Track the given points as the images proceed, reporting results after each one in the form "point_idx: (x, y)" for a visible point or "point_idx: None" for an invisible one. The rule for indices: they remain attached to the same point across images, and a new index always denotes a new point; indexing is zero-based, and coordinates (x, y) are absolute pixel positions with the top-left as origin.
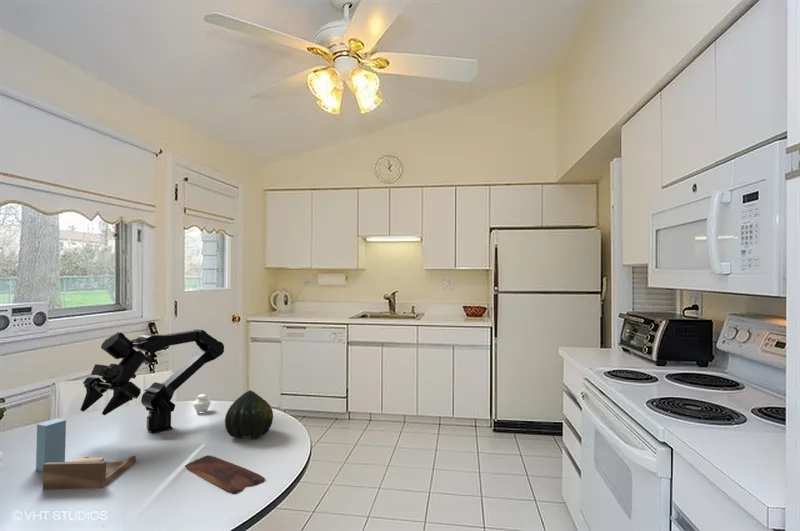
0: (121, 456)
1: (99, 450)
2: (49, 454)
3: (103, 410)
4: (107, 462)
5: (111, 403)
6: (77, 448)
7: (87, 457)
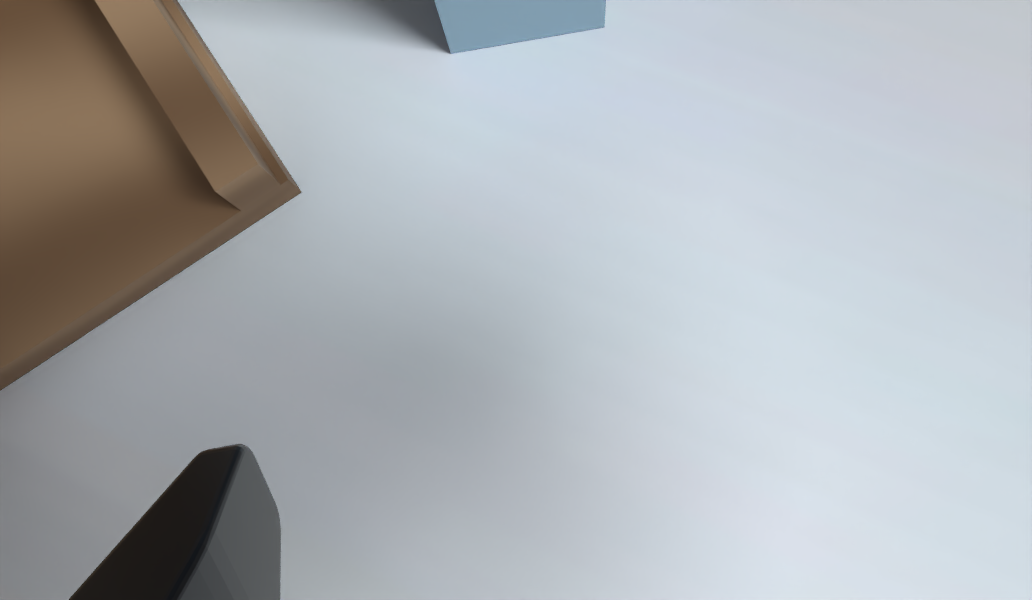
0: None
1: (662, 542)
2: None
3: (209, 495)
4: (16, 332)
5: None
6: (1015, 410)
7: (206, 173)
